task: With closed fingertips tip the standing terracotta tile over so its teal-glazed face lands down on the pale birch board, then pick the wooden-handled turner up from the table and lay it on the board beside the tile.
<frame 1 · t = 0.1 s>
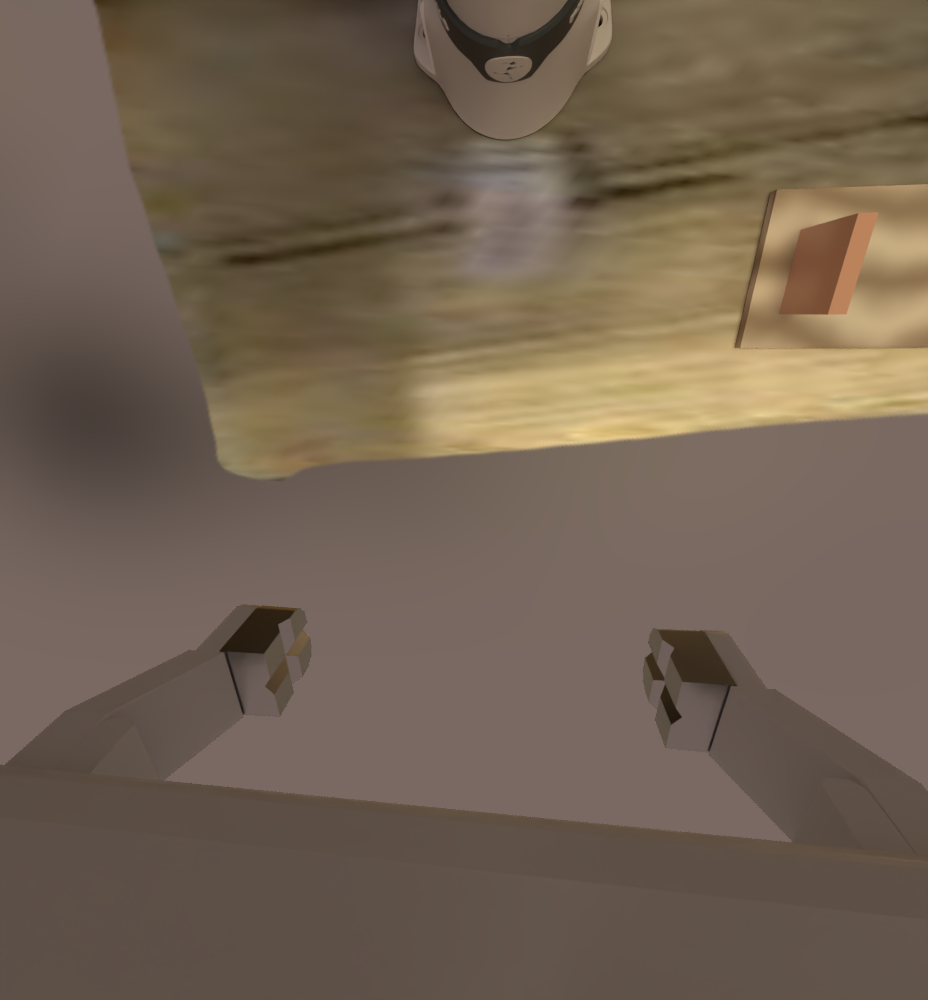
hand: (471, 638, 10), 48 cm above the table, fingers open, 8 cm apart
board: (860, 272, 46), on the table
tile: (797, 273, 46), point 1 cm above the table, touching board
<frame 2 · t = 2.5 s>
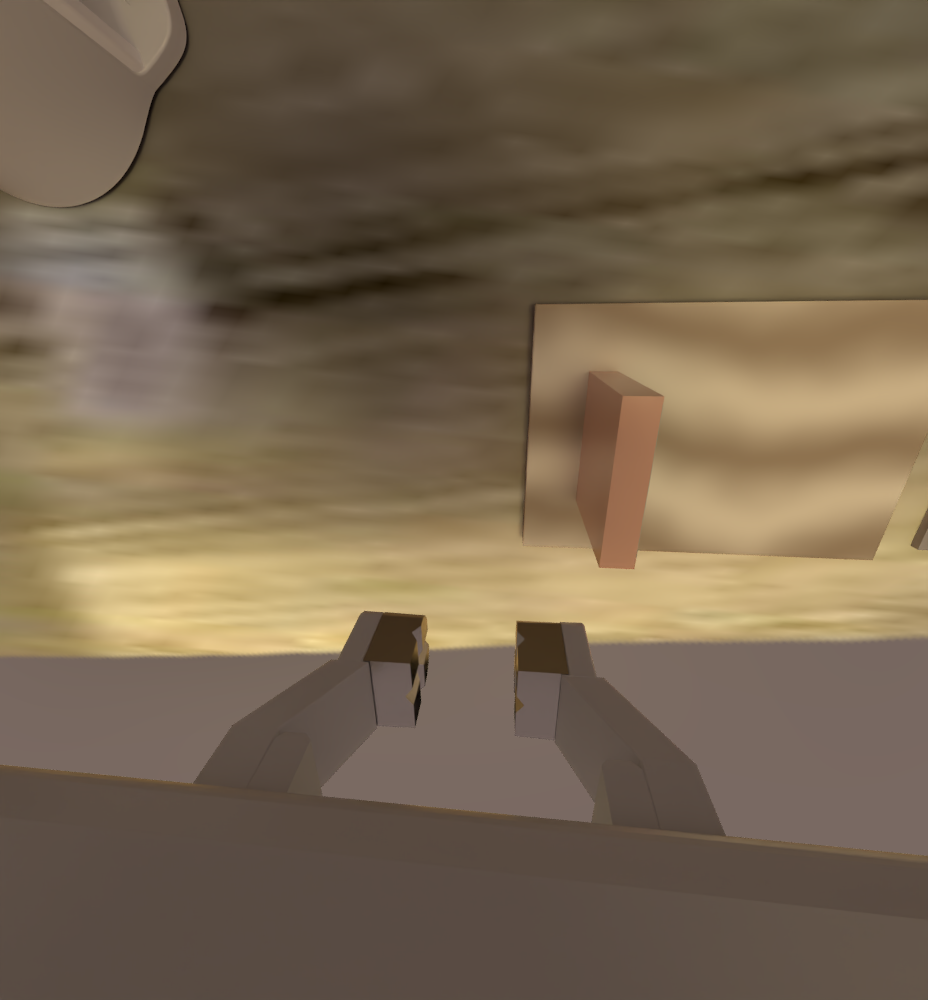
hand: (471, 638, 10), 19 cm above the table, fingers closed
board: (708, 436, 26), on the table
tile: (595, 439, 26), point 1 cm above the table, touching board
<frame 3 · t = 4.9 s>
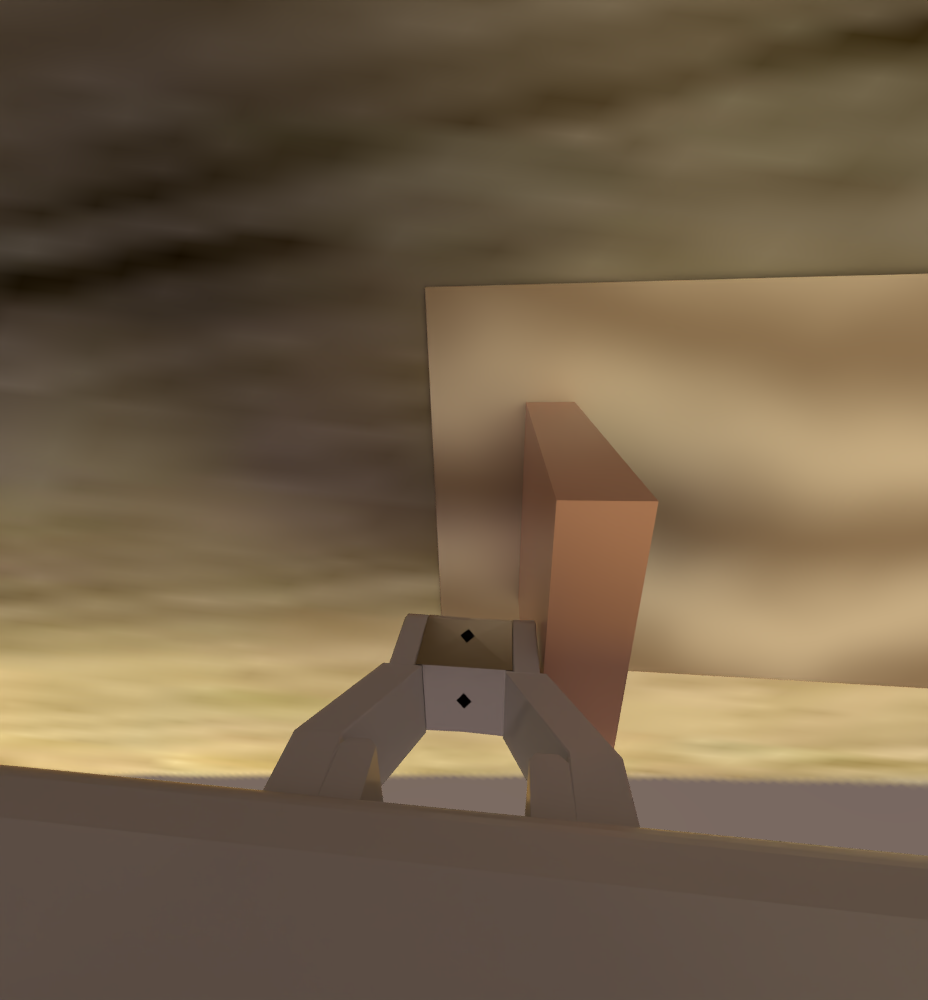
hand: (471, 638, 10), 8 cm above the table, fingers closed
board: (728, 502, 16), on the table
tile: (543, 511, 16), point 1 cm above the table, touching board, gripper
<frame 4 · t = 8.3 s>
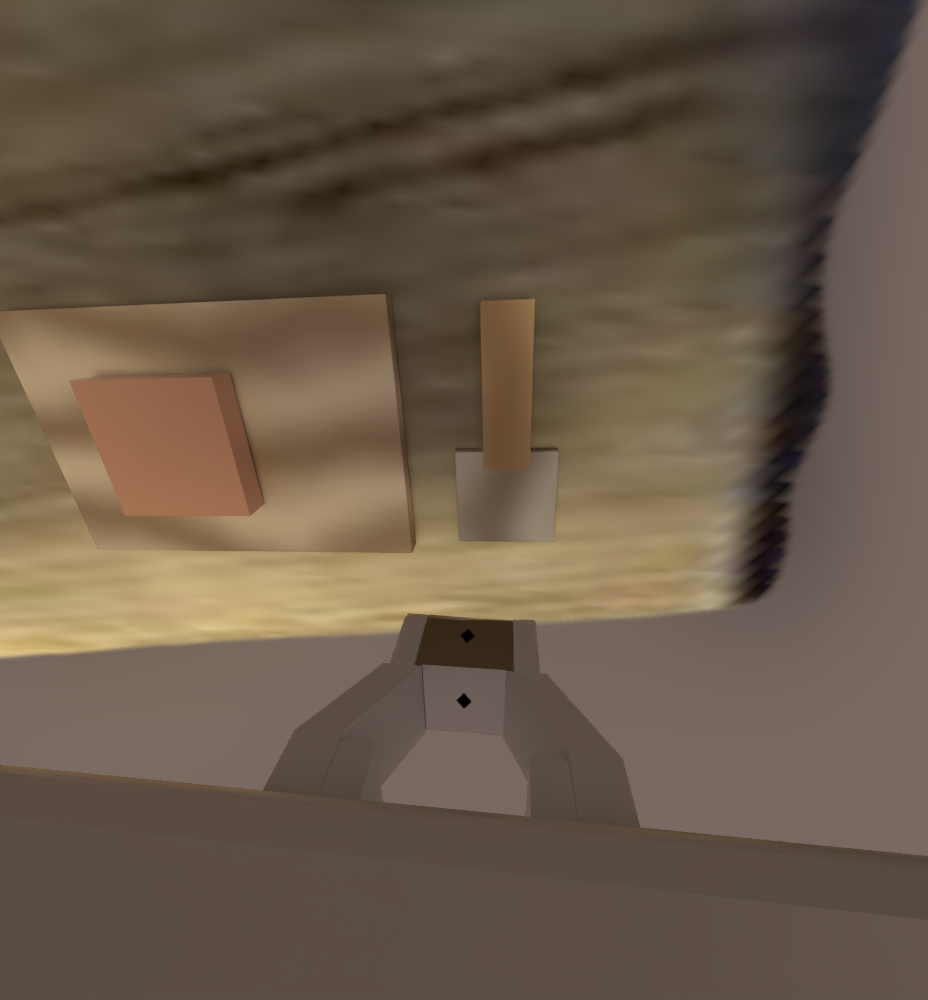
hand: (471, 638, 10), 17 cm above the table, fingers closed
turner: (506, 379, 24), on the table
board: (229, 436, 26), on the table
tile: (110, 448, 25), point 2 cm above the table, tilted 90°, touching board
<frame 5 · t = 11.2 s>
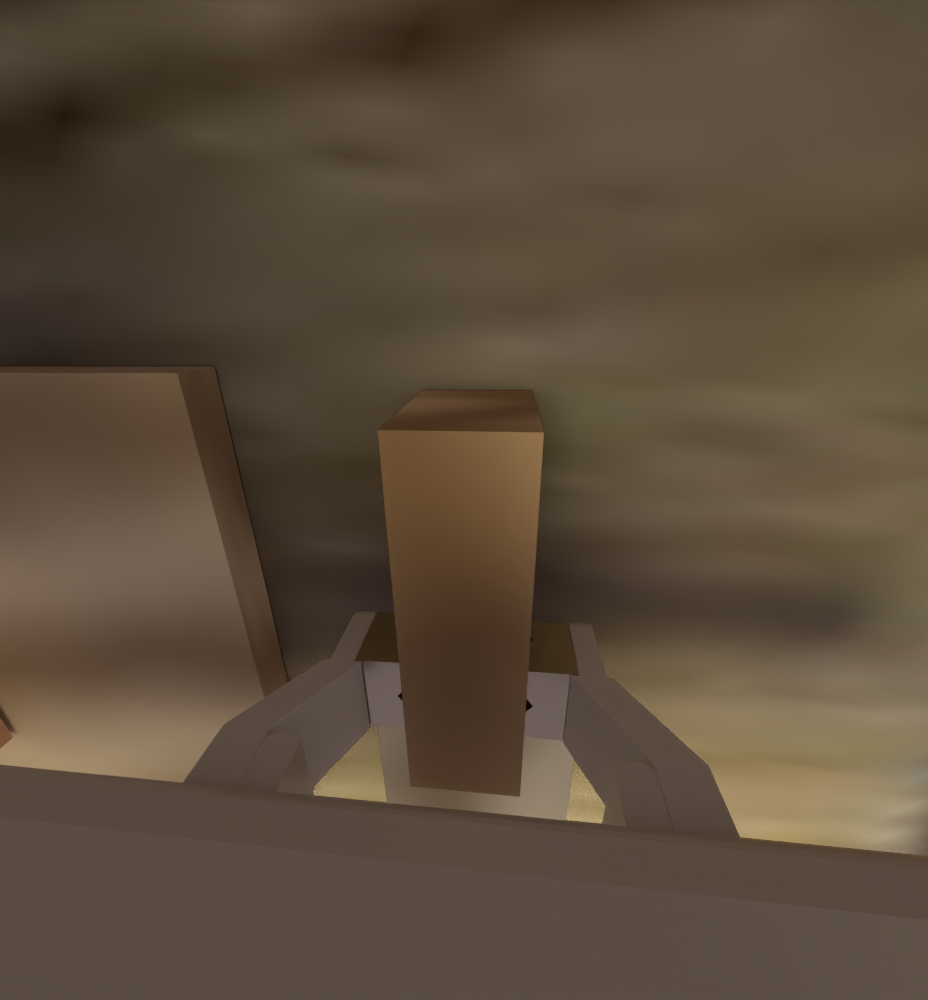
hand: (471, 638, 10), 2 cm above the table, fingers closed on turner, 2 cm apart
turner: (476, 548, 11), on the table, touching gripper
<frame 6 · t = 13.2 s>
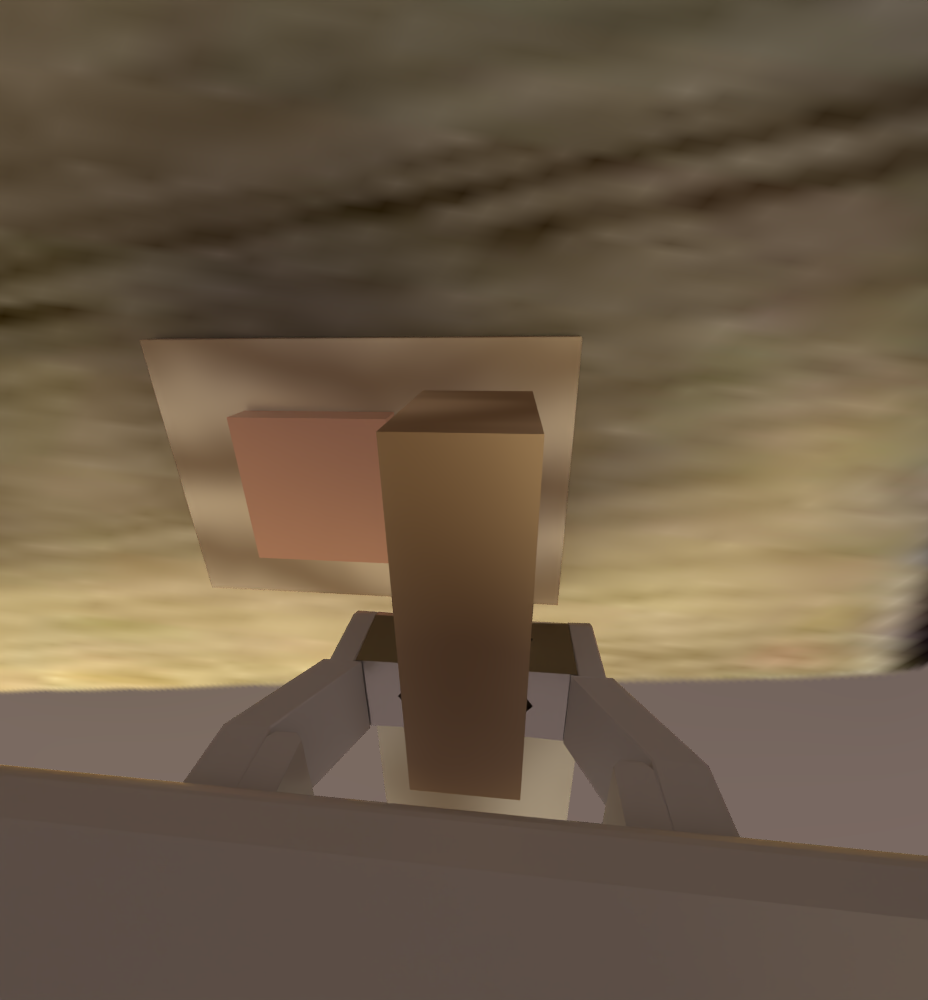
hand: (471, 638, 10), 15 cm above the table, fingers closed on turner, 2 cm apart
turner: (476, 550, 11), point 13 cm above the table, touching gripper
board: (372, 475, 25), on the table
tile: (252, 486, 23), point 2 cm above the table, tilted 90°, touching board
when the fingers open (4 cm above the table, at t = 15.3 s): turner drops 1 cm, resting on board.
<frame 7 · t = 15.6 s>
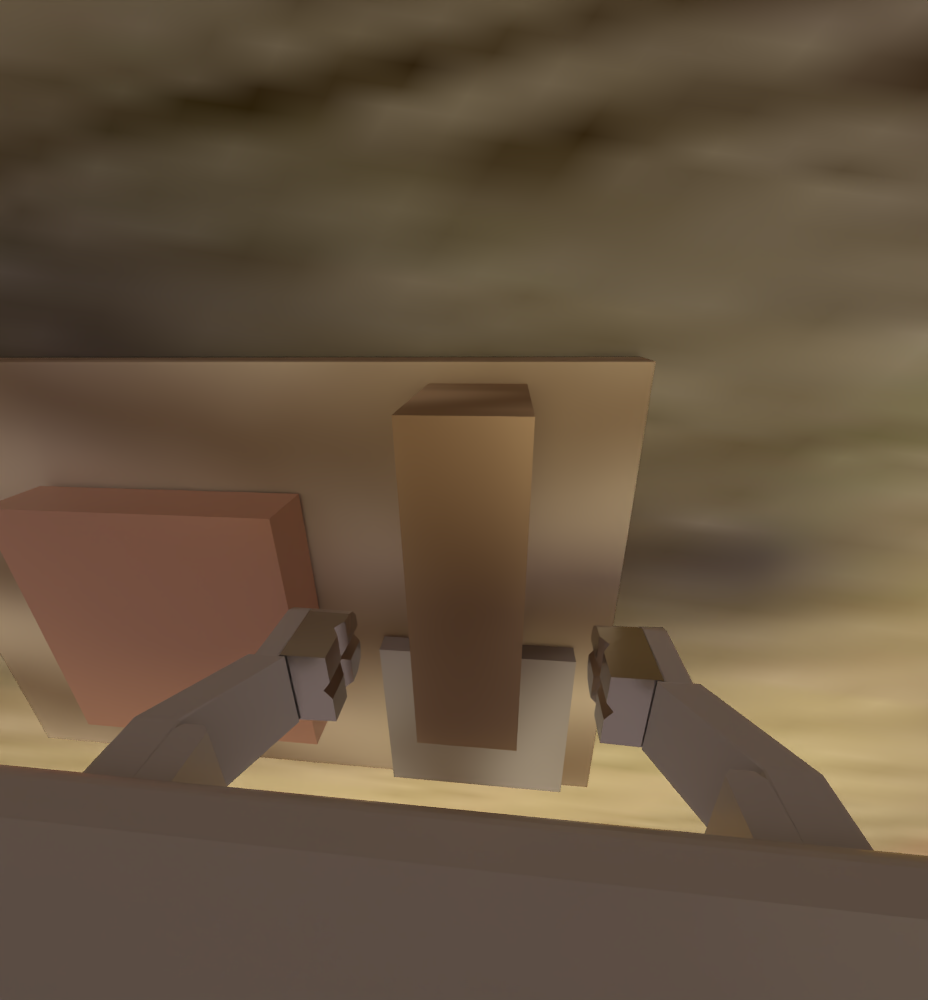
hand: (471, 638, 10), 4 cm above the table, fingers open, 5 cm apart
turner: (477, 529, 12), point 1 cm above the table, touching board
board: (281, 583, 15), on the table
tile: (65, 612, 14), point 2 cm above the table, tilted 90°, touching board
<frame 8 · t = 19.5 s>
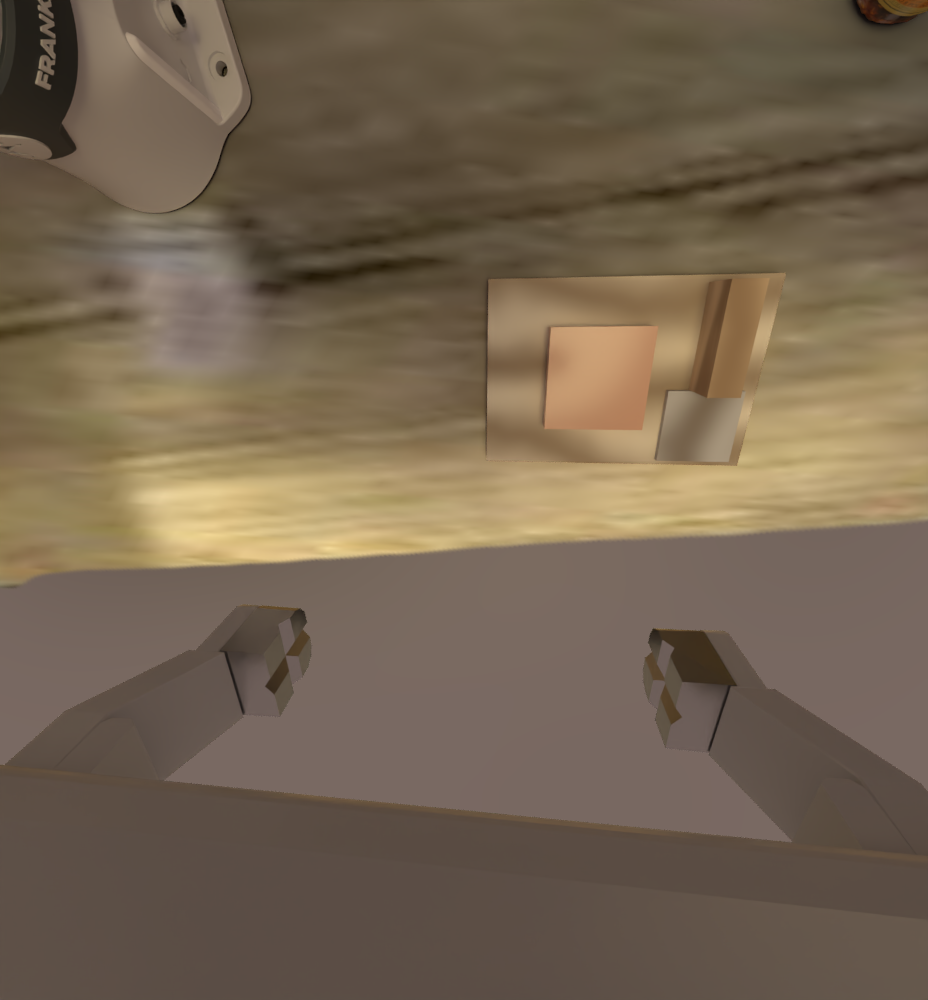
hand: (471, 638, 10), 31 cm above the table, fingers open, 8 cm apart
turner: (714, 338, 34), point 1 cm above the table, touching board
board: (616, 375, 37), on the table
tile: (546, 378, 35), point 2 cm above the table, tilted 90°, touching board
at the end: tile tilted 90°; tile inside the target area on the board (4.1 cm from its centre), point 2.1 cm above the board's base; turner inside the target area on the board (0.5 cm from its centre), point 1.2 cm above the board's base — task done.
